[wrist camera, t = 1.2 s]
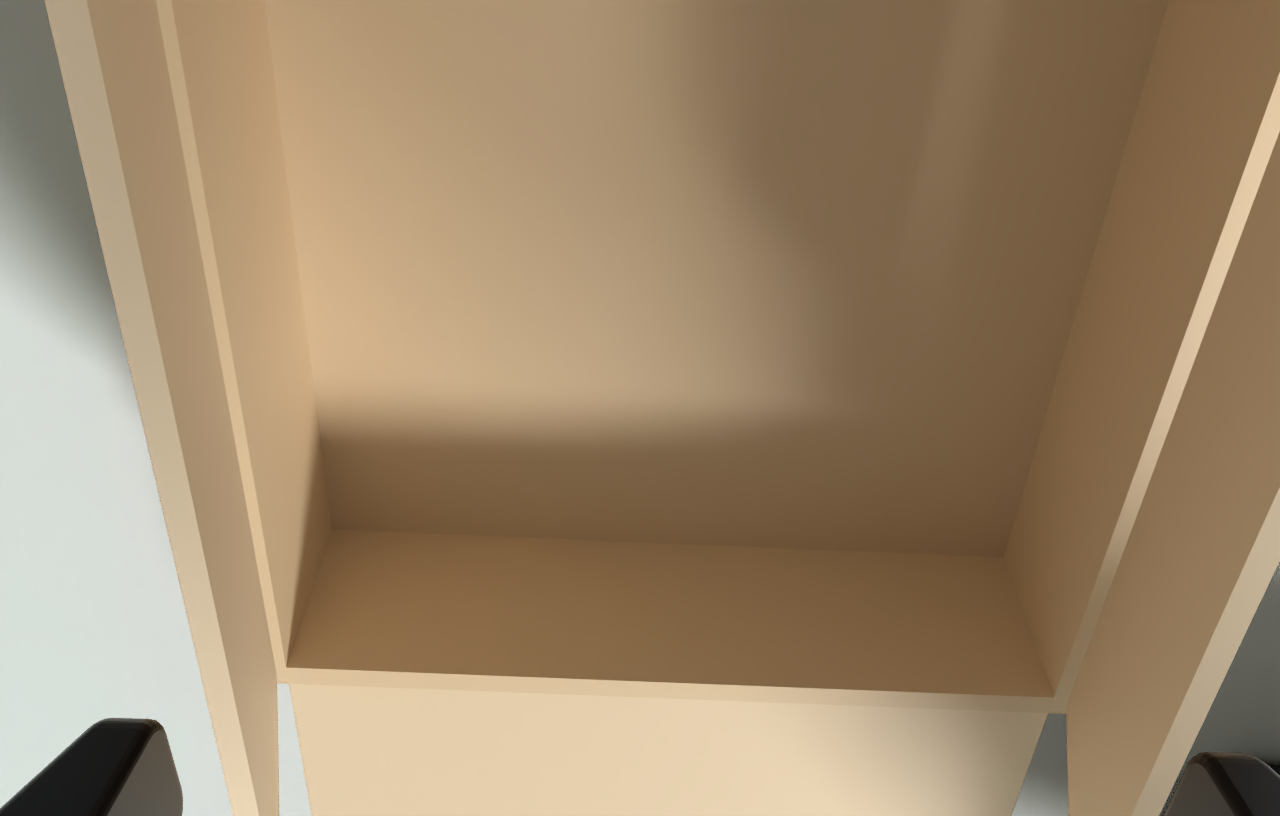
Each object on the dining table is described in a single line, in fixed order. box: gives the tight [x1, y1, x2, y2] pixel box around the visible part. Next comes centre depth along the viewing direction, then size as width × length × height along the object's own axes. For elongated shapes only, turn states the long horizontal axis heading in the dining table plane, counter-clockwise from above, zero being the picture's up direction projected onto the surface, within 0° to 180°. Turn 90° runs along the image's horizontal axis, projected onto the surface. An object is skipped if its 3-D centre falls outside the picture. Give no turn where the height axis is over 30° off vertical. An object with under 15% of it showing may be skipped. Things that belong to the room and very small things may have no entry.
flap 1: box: [44, 0, 279, 816], centre depth 13 cm, size 1×17×4 cm, turn 175°
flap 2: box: [1066, 132, 1280, 816], centre depth 14 cm, size 1×17×4 cm, turn 176°
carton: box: [156, 0, 1280, 816], centre depth 17 cm, size 14×26×4 cm, turn 177°
